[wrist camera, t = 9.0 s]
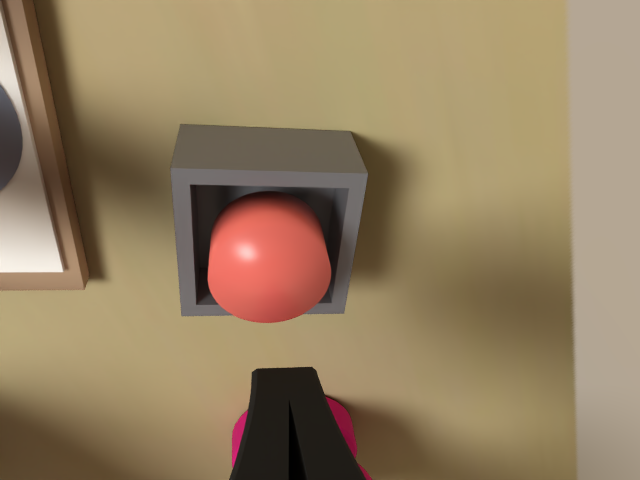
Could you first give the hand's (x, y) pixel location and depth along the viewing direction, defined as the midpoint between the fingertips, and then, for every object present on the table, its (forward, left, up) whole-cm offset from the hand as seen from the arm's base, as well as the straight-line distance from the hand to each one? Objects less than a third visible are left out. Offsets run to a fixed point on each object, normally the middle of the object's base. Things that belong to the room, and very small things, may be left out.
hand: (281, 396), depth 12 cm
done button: (0, 0, -6) cm, 6 cm away
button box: (0, 0, -9) cm, 9 cm away
